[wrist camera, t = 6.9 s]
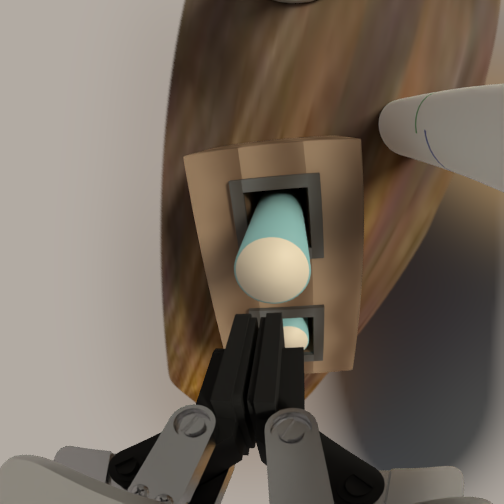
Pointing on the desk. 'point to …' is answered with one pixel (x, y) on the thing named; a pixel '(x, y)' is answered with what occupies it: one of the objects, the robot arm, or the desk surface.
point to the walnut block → (316, 225)
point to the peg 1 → (274, 250)
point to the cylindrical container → (451, 131)
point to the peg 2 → (296, 332)
